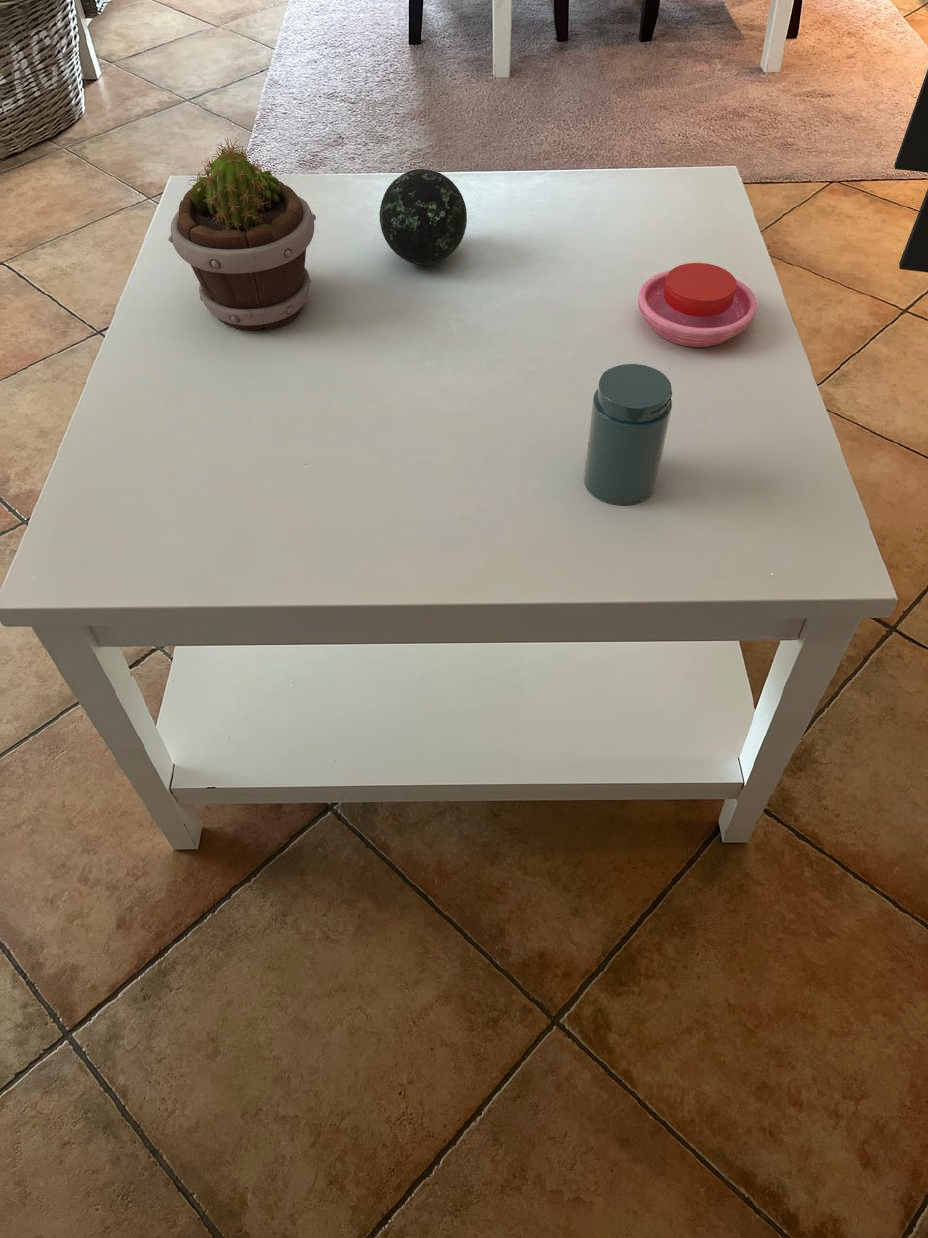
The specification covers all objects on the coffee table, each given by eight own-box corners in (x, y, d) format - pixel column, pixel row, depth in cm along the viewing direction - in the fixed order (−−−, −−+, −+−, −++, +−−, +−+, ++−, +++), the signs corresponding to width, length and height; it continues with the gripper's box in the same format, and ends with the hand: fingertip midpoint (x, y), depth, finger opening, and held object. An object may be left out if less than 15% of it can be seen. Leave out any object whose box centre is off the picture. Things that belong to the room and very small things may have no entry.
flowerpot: (192, 279, 106) (142, 94, 91) (323, 265, 108) (297, 82, 92) (189, 352, 97) (133, 161, 82) (332, 336, 99) (305, 146, 83)
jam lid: (648, 297, 97) (651, 281, 96) (690, 270, 100) (693, 254, 99) (705, 325, 94) (709, 308, 92) (746, 296, 97) (750, 280, 95)
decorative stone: (482, 266, 107) (483, 181, 100) (406, 290, 104) (400, 204, 97) (443, 228, 113) (440, 145, 105) (369, 250, 110) (361, 165, 102)
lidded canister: (670, 480, 84) (691, 384, 76) (625, 516, 81) (641, 421, 73) (614, 446, 87) (629, 351, 79) (569, 480, 84) (578, 385, 76)
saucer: (643, 285, 104) (647, 259, 102) (754, 299, 102) (760, 273, 100) (628, 348, 97) (631, 322, 94) (747, 364, 95) (754, 338, 92)
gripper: (979, -258, 52) (859, 128, 69) (1026, -152, 37) (859, 310, 54) (1121, -254, 51) (964, 139, 68) (1230, -142, 36) (994, 328, 53)
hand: (917, 215), depth 61 cm, fingers open, 13 cm apart
